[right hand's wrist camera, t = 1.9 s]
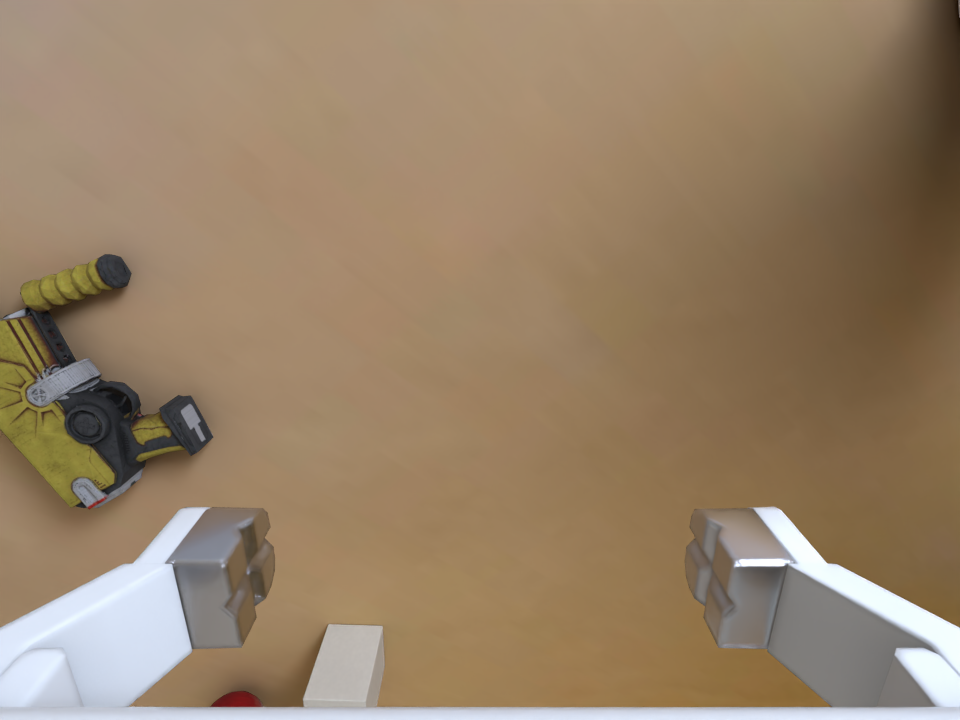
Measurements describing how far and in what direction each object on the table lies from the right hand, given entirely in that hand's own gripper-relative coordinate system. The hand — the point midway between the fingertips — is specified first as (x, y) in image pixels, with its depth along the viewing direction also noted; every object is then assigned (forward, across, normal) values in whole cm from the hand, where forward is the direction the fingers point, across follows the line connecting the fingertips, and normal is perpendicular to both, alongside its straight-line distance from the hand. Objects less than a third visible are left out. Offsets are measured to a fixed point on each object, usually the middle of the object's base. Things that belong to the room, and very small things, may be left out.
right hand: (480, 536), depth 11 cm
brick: (+33, -12, -39) cm, 53 cm away
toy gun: (+33, -32, -6) cm, 46 cm away
